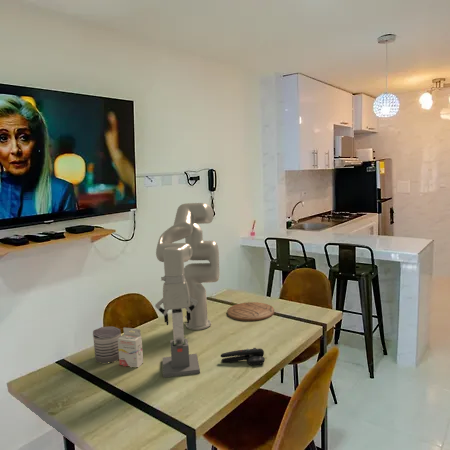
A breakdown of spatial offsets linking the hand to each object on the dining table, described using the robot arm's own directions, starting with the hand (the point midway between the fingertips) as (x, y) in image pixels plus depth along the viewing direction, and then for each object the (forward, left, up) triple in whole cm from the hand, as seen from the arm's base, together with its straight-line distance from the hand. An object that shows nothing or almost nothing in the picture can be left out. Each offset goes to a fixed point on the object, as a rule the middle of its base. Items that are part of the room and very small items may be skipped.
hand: (177, 322), depth 163 cm
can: (-30, -15, -19) cm, 38 cm away
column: (0, 0, -11) cm, 11 cm away
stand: (0, 0, -18) cm, 18 cm away
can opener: (+16, +19, -19) cm, 31 cm away
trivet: (-20, +63, -19) cm, 69 cm away
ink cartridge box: (-17, -12, -19) cm, 28 cm away
